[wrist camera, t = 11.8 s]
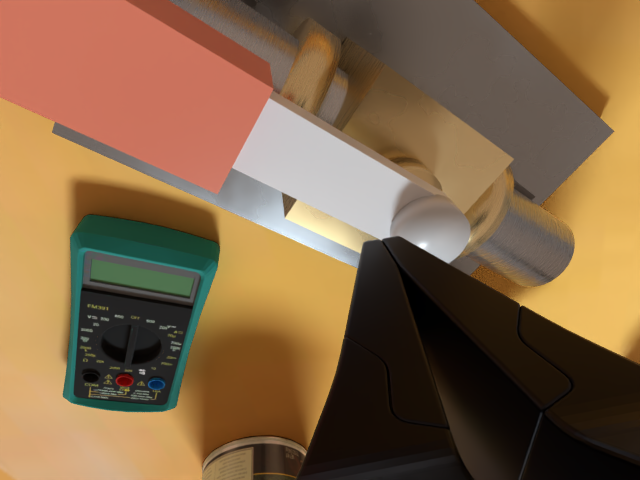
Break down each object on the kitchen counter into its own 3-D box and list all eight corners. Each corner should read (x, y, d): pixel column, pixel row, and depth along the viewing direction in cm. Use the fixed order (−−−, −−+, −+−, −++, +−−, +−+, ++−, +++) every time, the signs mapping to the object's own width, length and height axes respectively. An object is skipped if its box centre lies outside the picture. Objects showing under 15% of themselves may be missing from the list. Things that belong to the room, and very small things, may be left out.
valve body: (598, 124, 22) (752, 192, 15) (433, 293, 28) (491, 397, 21) (180, -260, 12) (85, -552, 5) (62, 123, 18) (-53, 215, 11)
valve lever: (454, 179, 13) (496, 222, 11) (403, 240, 14) (431, 290, 12) (-186, -222, 7) (-409, -320, 5) (-184, -54, 8) (-359, -64, 6)
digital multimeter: (74, 376, 28) (57, 414, 26) (86, 204, 21) (64, 234, 18) (179, 386, 30) (172, 422, 28) (223, 235, 23) (219, 265, 21)
